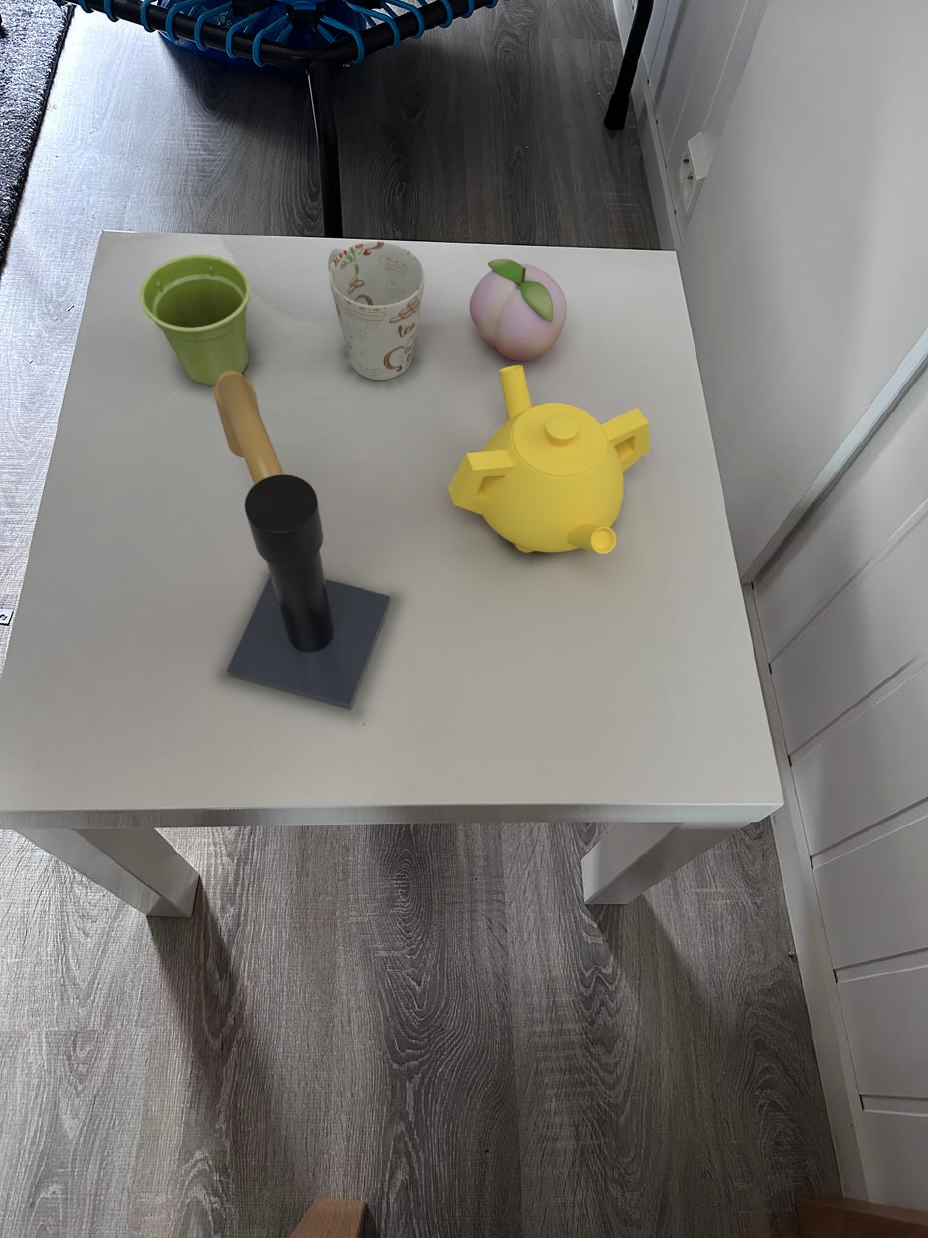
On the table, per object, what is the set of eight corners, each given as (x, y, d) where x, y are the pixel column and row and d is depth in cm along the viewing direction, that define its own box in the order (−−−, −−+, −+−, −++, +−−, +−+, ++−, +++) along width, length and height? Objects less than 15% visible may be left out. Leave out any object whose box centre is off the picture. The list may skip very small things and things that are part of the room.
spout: (213, 437, 64) (189, 360, 57) (270, 422, 65) (253, 343, 58) (275, 606, 57) (256, 541, 50) (337, 585, 58) (327, 519, 51)
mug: (371, 403, 80) (366, 320, 71) (296, 326, 84) (282, 238, 75) (440, 364, 82) (443, 280, 74) (364, 292, 87) (358, 204, 78)
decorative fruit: (576, 355, 84) (596, 272, 75) (521, 398, 81) (535, 316, 72) (508, 306, 87) (519, 220, 78) (452, 345, 84) (457, 260, 75)
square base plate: (228, 675, 66) (186, 584, 53) (276, 571, 70) (247, 465, 58) (350, 710, 65) (336, 625, 53) (390, 602, 70) (386, 501, 57)
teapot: (410, 450, 77) (410, 359, 67) (586, 403, 81) (610, 312, 71) (491, 633, 69) (504, 560, 59) (683, 571, 73) (725, 494, 63)
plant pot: (185, 414, 78) (161, 342, 70) (151, 347, 81) (124, 272, 74) (280, 381, 80) (266, 308, 73) (242, 317, 84) (226, 242, 76)
